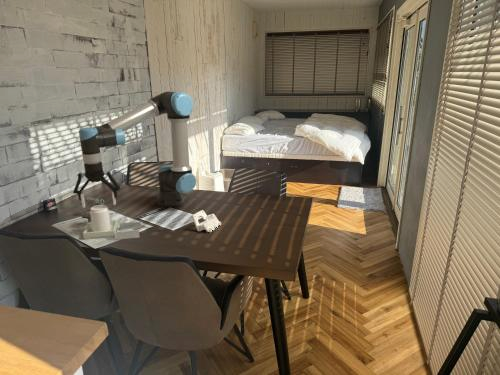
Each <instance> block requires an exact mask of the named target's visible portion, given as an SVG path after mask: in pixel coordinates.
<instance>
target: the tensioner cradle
mask: <svg viewBox="0 0 500 375" xmlns="http://www.w3.org/2000/svg"><path fill="white" fill-rule="evenodd" d="M118 224H119V226H118V228H119V230H132V231H121V232H118V231H117V232H116V235H115V237H116V240H125V239H127V240H128V239H136V238H137V239H138V238H140V230H135V229H141V228H142V223H141V221H133V222H120V223H119V222H118ZM133 230H134V231H133Z"/></svg>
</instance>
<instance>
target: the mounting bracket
mask: <svg viewBox="0 0 500 375" xmlns="http://www.w3.org/2000/svg"><path fill="white" fill-rule="evenodd" d="M199 217H201V218H202V220H204V221H202V222H199ZM191 218H192V221H193V222H194V226H195V227H196V230H197V232H202V231H204V230H205V231H206V233H208V232H209V233H211V232H213V231H214V230H216V229H217V228H219V227H220V226H221V225H222V222H221V221H219V219H218V217H217V216H216V215H215V214H214V213H211V214H208V215H207V213H206V212H205V210H203V209H202V210H200V211H197V212H195V213H193V214H192V215H191ZM219 225H220V226H219ZM218 226H219V227H218ZM216 227H217V228H216ZM215 228H216V229H215ZM212 230H213V231H212Z"/></svg>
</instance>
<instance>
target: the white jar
mask: <svg viewBox="0 0 500 375" xmlns="http://www.w3.org/2000/svg"><path fill="white" fill-rule="evenodd" d="M90 207H91V208H90V209H89V210H90V215H91V222H92V229H93V232H100V231H109V230H110V229H111V226H110V220H111V219H110V211H109V210H110V209H109V207H108V205H107V204H104V205H96V206H90Z"/></svg>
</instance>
